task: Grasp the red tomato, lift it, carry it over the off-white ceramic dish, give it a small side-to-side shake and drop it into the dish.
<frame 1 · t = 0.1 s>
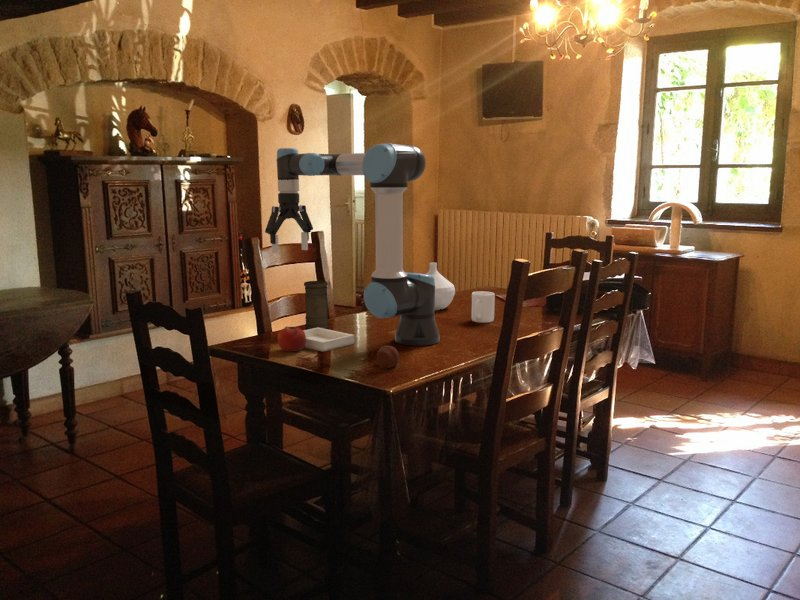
hand: (290, 251, 255), 28 cm above the table, fingers open, 13 cm apart
vase: (432, 308, 296), on the table
container: (317, 332, 252), on the table
mug: (481, 322, 269), on the table
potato: (387, 367, 207), on the table
tomato: (292, 351, 225), on the table
dish: (320, 343, 235), on the table
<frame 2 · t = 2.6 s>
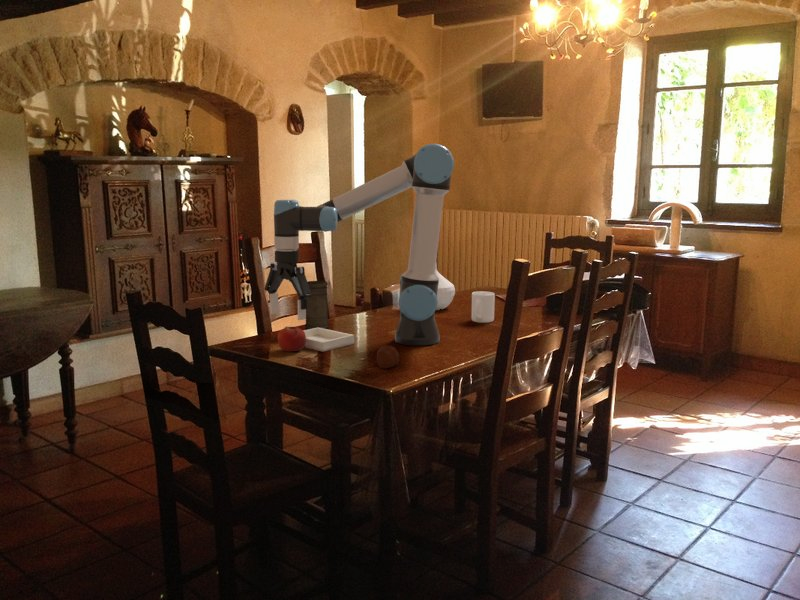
hand: (287, 316, 223), 11 cm above the table, fingers open, 13 cm apart
nothing on the table moved.
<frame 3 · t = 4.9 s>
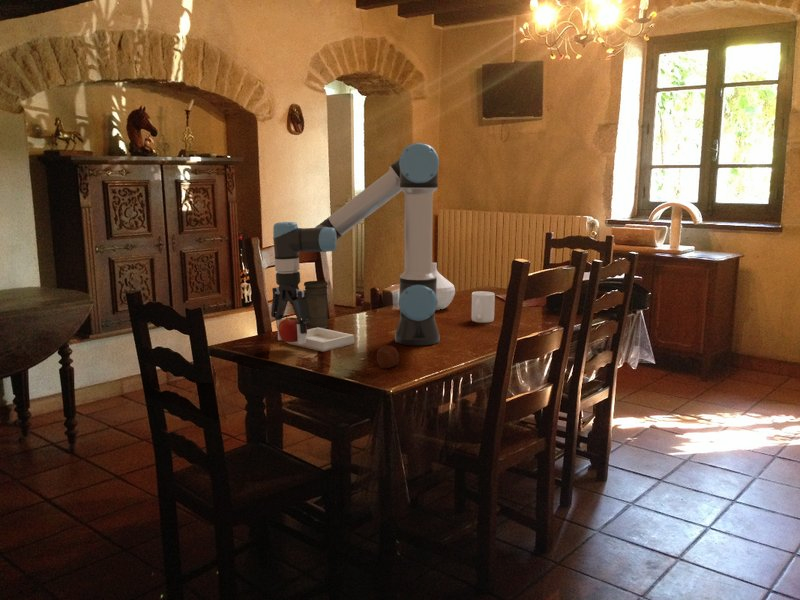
hand: (291, 341, 225), 3 cm above the table, fingers closed on tomato, 9 cm apart
tomato: (293, 342, 225), point 3 cm above the table, touching gripper
everything else where it was.
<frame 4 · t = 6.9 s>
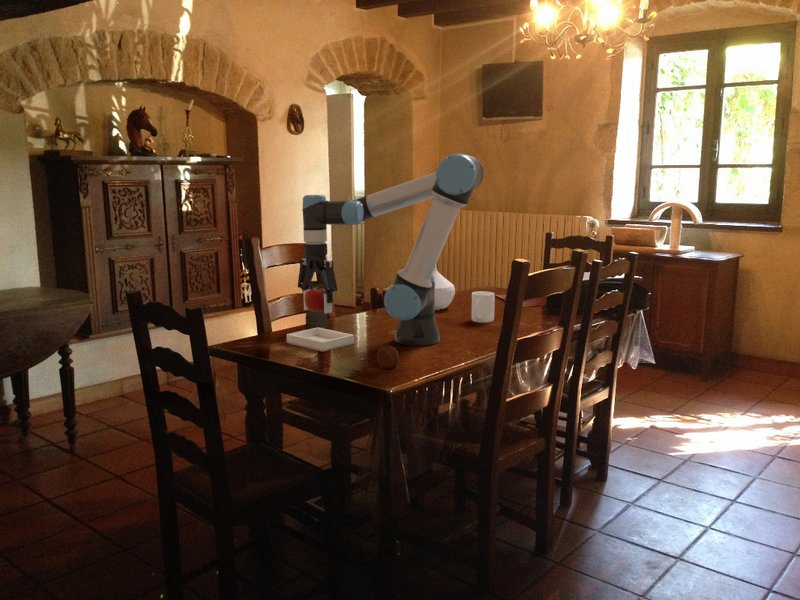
hand: (317, 310, 232), 11 cm above the table, fingers closed on tomato, 9 cm apart
tomato: (319, 311, 232), point 11 cm above the table, touching gripper
everything else where it was.
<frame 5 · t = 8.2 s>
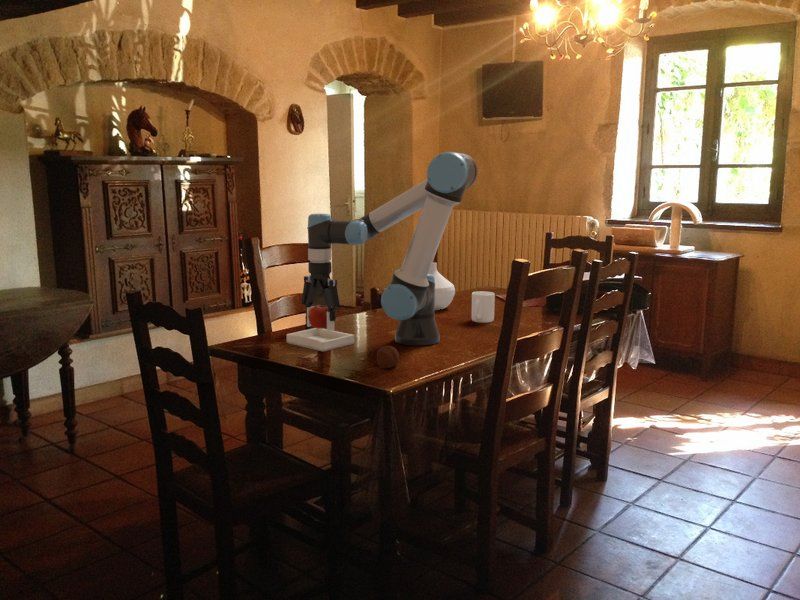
hand: (320, 328, 234), 5 cm above the table, fingers closed on tomato, 9 cm apart
tomato: (322, 329, 235), point 5 cm above the table, touching gripper
everything else where it was.
when the fingers open (3 cm above the table, at t = 9.0 s): tomato drops 2 cm, resting on dish.
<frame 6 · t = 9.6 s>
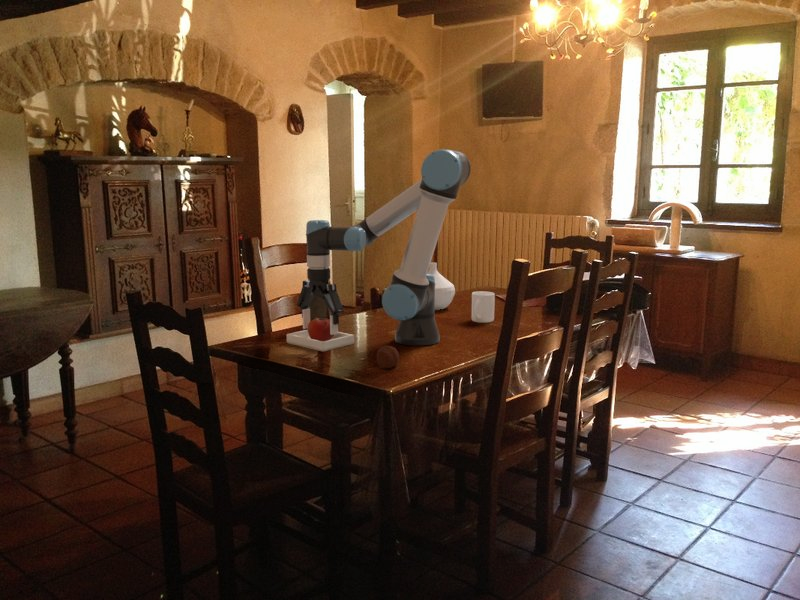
hand: (320, 331, 234), 4 cm above the table, fingers open, 13 cm apart
tomato: (321, 341, 235), resting on dish
everything else where it was.
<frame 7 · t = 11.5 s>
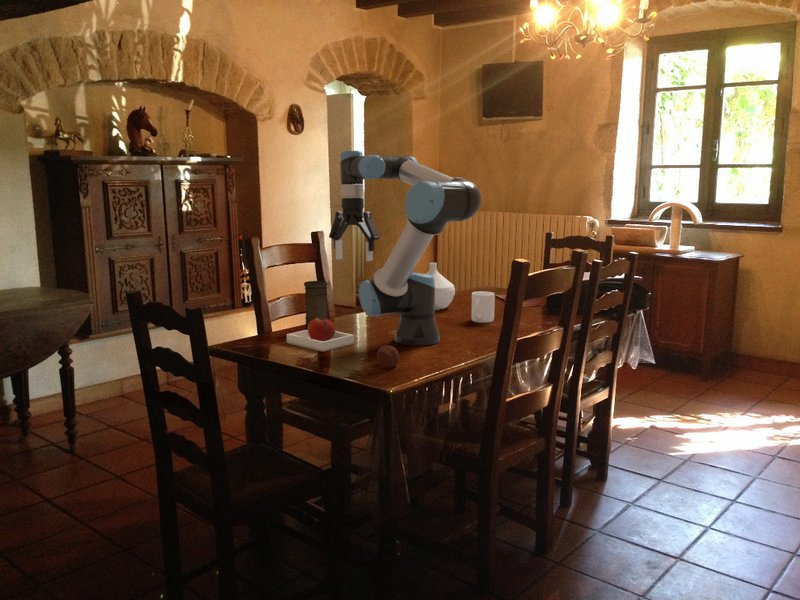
hand: (354, 260, 241), 27 cm above the table, fingers open, 13 cm apart
nothing on the table moved.
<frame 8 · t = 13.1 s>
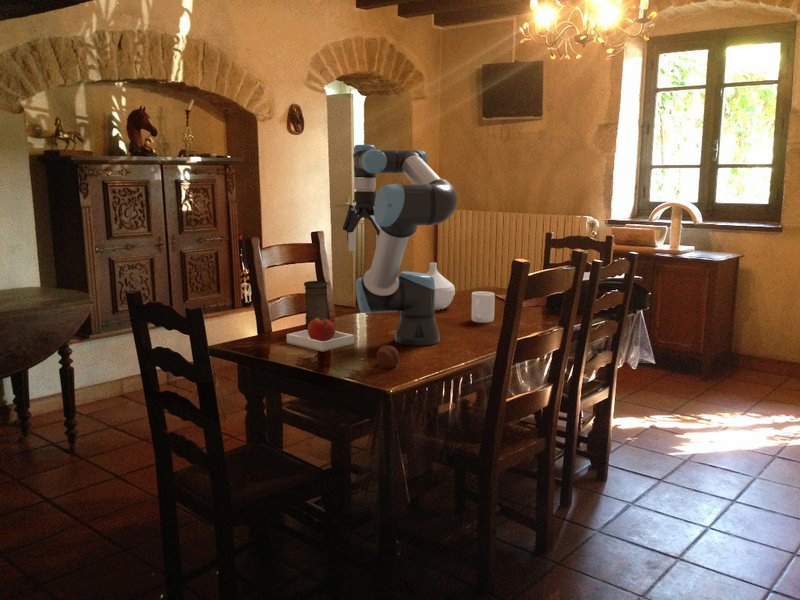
hand: (365, 252, 246), 29 cm above the table, fingers open, 13 cm apart
nothing on the table moved.
at the end: tomato inside the target area on the dish (0.6 cm from its centre), point 0.4 cm above the dish's base; the gripper is holding nothing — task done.
